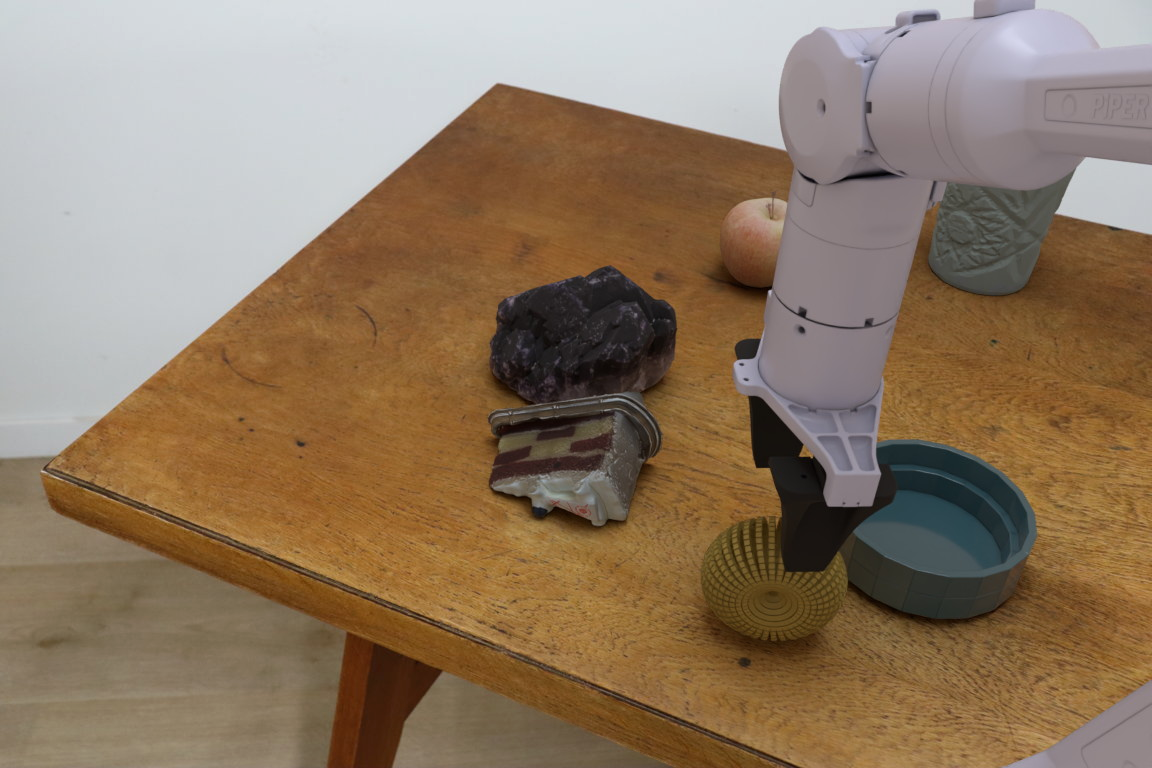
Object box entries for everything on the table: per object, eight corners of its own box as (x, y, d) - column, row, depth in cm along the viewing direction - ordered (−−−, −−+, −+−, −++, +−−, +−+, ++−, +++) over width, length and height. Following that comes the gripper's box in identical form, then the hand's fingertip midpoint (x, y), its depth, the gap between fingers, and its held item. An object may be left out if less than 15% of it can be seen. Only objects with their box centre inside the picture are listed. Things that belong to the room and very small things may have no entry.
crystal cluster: (487, 325, 88) (476, 219, 81) (656, 309, 89) (658, 203, 82) (496, 443, 78) (483, 334, 71) (686, 425, 79) (691, 315, 72)
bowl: (1048, 623, 65) (1070, 575, 62) (847, 626, 64) (861, 578, 61) (977, 484, 74) (993, 438, 72) (801, 485, 73) (812, 439, 71)
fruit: (722, 249, 98) (734, 166, 93) (805, 264, 96) (822, 181, 92) (706, 293, 92) (718, 207, 87) (795, 309, 91) (812, 223, 86)
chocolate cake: (446, 504, 71) (570, 453, 63) (477, 416, 75) (596, 357, 67) (555, 572, 75) (683, 533, 67) (578, 485, 79) (702, 438, 71)
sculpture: (831, 611, 65) (859, 512, 60) (833, 666, 62) (863, 565, 57) (695, 591, 65) (711, 491, 61) (690, 644, 62) (707, 543, 57)
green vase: (924, 291, 94) (960, 160, 87) (913, 233, 102) (946, 110, 95) (1047, 306, 93) (1094, 175, 86) (1027, 246, 101) (1068, 123, 94)
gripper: (722, 214, 55) (692, 425, 64) (782, 391, 44) (736, 620, 52) (860, 216, 56) (813, 424, 64) (955, 392, 44) (883, 618, 53)
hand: (787, 512), depth 58 cm, fingers open, 7 cm apart
